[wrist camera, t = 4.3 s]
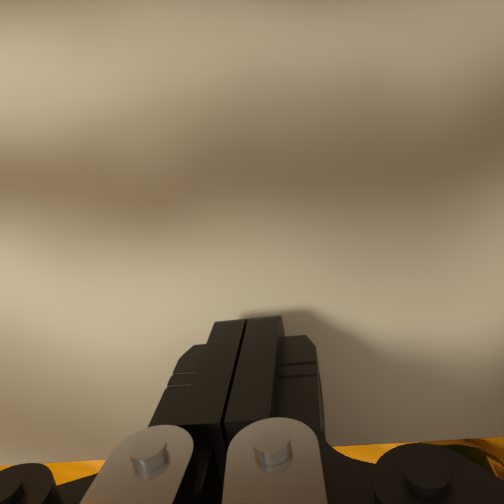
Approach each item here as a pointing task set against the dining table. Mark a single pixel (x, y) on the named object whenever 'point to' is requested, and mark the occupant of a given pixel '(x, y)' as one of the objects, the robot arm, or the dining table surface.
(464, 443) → the beer can
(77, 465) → the dining table surface
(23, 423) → the beige flat slab
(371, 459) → the dining table surface
